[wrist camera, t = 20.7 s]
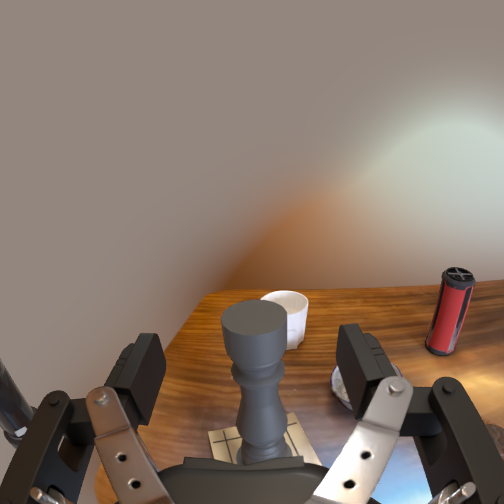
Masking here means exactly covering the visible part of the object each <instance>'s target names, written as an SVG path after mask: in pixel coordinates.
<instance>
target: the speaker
mask: <svg viewBox="0 0 504 504" xmlns="http://www.w3.org/2000/svg"><path fill="white" fill-rule="evenodd" d="M474 286H475V279H474V277H473V275H472V273H470V272H469V271H467V270H465V269H462V268H457V267H452V268H448V269H447V270H446V271H444V272H443V273H442V282H441V287H440V291H439V296H438V300H437V304H436V308H435V312H434V316H433V320H432V323H431V327H430V330H429V334H428V336H427V338H426V341H425V344H426V347H427V348H428V349H429V350H430V351H431V352H433V353H434V354H437V355H448V354H451V353H452V352H453V351H454V349H455V347H456V342H457V339H458V336H459V333H460V331H461V328H462V325H463V321H464V318H465V315H466V312H467V308H468V305H469V301H470V298H471V294H472V290H473V287H474Z"/></svg>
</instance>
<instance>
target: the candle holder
mask: <svg viewBox="0 0 504 504" xmlns="http://www.w3.org/2000/svg"><path fill="white" fill-rule="evenodd" d="M221 323H222V330H223V337H224V344H225V349H226V352H227V354H228V355H229V356H230V358H231V360H232V361H233V364H232V368H231V373H232V376H233V379H234V380H235V381H236V382H237V383H238V384H239V385H240V388H241V395H242V398H241V403H240V407H239V411H238V416H237V420H236V427H237V430H238V433H239V435H240V436H241V437H242V443H241V454H242V459H243V462H244V465H247V464H251V463H256V462H260V461H264V460H268V459H271V458H279V457H286V452H287V443H286V441H285V437H284V433H285V432H286V430H287V425H288V418H287V415H286V413H285V410H284V408H283V405H282V402H281V400H280V397H279V394H278V383H279V382H280V380H281V379H282V377H283V376H284V371H285V364H284V363H283V361H282V359H281V358H282V357H283V355H284V352H285V351H286V349H287V311H286V310H285V309H284V307H283V306H281V305H279V304H277V303H275V302H272V301H267V300H248V301H242V302H239V303H236V304H234V305H232V306H230V307H229V308H228V309H226V310H225V311H224V312H223V315H222V317H221Z"/></svg>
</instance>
